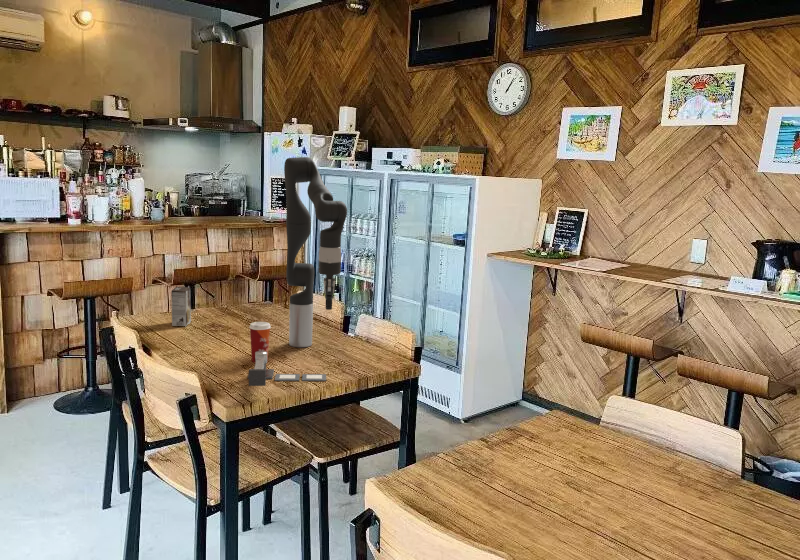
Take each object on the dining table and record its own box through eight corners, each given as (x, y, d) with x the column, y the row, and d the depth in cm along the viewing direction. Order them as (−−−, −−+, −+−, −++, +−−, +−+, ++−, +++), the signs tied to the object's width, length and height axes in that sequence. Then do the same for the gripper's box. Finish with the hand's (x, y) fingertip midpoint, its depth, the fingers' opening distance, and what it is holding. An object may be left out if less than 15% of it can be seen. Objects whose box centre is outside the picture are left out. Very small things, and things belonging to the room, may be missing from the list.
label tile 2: (302, 375, 210) (302, 373, 209) (325, 375, 211) (326, 373, 211) (302, 381, 204) (302, 379, 204) (326, 381, 205) (326, 379, 205)
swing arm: (254, 363, 209) (254, 349, 208) (269, 363, 209) (269, 349, 209) (248, 385, 187) (248, 370, 186) (265, 385, 188) (265, 370, 187)
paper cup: (265, 364, 219) (265, 327, 216) (245, 362, 220) (245, 325, 218) (273, 358, 226) (274, 322, 224) (254, 356, 228) (254, 320, 225)
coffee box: (176, 321, 273) (176, 286, 270) (191, 322, 274) (191, 286, 271) (171, 326, 264) (170, 290, 261) (186, 327, 265) (186, 290, 262)
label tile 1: (276, 375, 208) (276, 373, 208) (299, 375, 209) (299, 373, 209) (274, 380, 202) (274, 379, 202) (299, 381, 204) (299, 379, 203)
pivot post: (250, 371, 211) (250, 359, 210) (273, 371, 212) (274, 359, 211) (247, 378, 203) (247, 366, 203) (272, 378, 204) (272, 366, 204)
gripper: (319, 256, 212) (317, 304, 216) (318, 262, 200) (317, 313, 203) (340, 256, 213) (339, 304, 217) (341, 263, 201) (340, 314, 204)
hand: (328, 309), depth 210 cm, fingers closed
